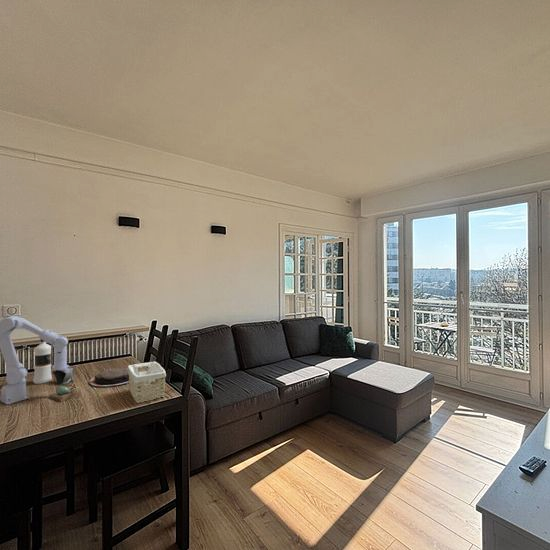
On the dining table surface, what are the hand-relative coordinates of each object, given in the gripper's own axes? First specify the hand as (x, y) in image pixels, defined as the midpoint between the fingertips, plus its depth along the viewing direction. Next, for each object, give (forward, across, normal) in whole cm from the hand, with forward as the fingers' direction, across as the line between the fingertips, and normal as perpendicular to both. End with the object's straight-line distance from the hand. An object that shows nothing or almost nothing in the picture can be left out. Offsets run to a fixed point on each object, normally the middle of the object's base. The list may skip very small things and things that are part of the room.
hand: (60, 383), depth 168 cm
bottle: (+4, +1, 0) cm, 4 cm away
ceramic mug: (+6, +19, -12) cm, 23 cm away
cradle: (+6, -4, 0) cm, 7 cm away
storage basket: (+6, -40, -24) cm, 47 cm away
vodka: (+6, +31, -5) cm, 32 cm away
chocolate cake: (+6, -3, -30) cm, 31 cm away
